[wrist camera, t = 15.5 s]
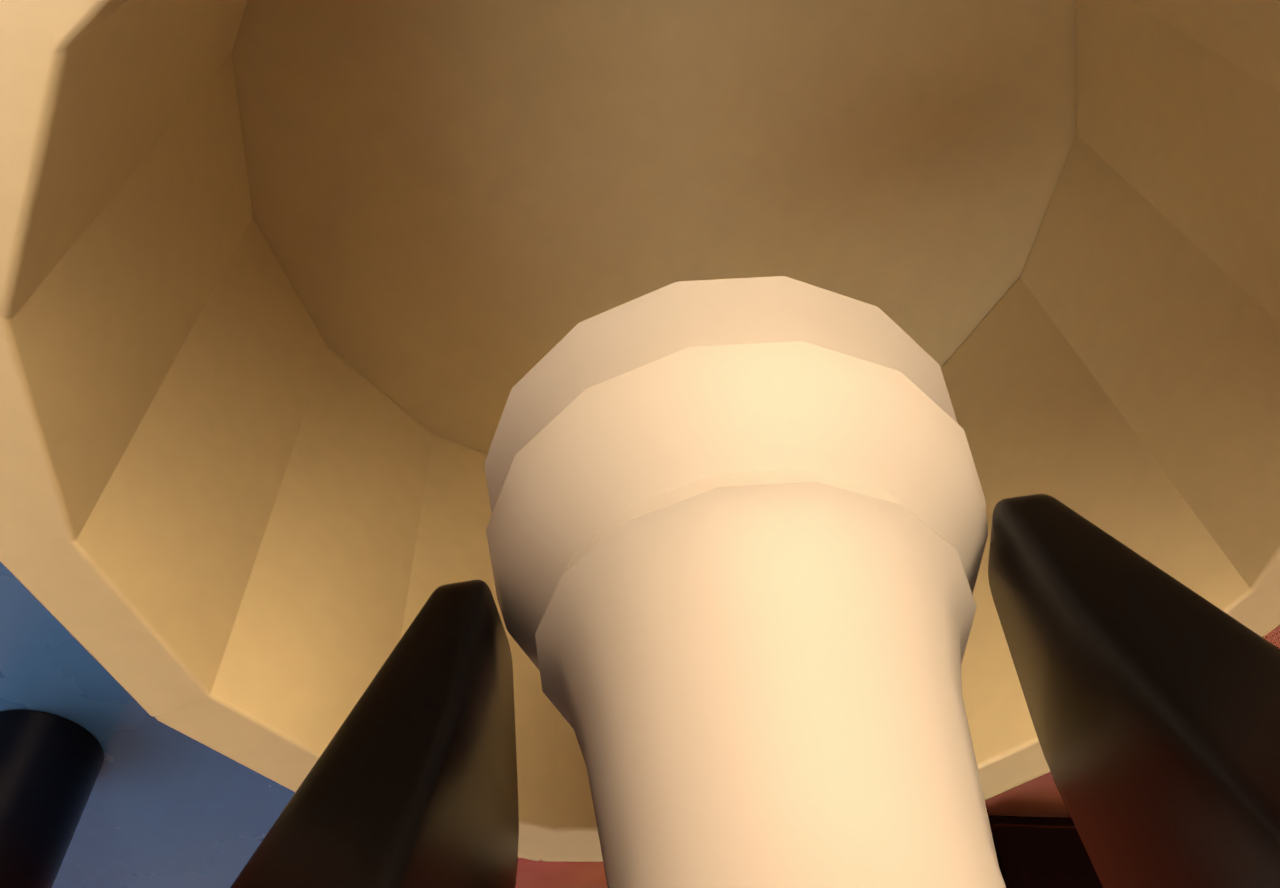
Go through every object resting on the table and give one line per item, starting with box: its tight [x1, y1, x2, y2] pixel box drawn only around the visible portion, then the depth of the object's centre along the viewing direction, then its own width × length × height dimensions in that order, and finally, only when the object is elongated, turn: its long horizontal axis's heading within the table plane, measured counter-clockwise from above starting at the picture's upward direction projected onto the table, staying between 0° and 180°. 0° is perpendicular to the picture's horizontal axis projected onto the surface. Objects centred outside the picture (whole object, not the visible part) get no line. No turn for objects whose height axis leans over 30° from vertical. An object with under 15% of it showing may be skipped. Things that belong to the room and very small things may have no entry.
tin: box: [0, 0, 1280, 862], centre depth 12 cm, size 14×14×8 cm
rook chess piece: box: [484, 276, 1006, 888], centre depth 7 cm, size 4×4×8 cm
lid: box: [0, 562, 295, 888], centre depth 20 cm, size 15×15×6 cm
